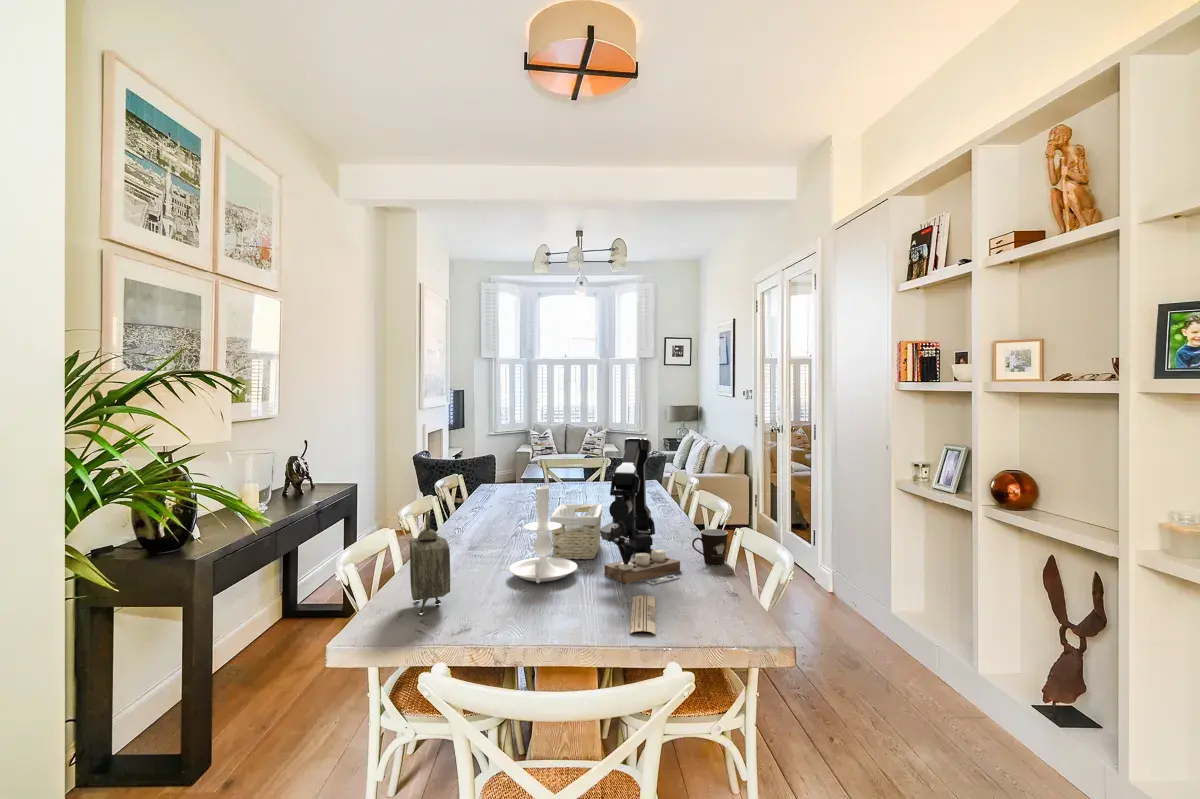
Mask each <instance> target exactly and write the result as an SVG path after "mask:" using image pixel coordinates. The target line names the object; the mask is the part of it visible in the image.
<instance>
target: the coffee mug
mask: <svg viewBox="0 0 1200 799" xmlns="http://www.w3.org/2000/svg"><path fill="white" fill-rule="evenodd" d="M700 536H701V537H695V538H694V539H693V540H692V541H691V542H692V544H691V545H692V546H691V547H692V548H693V549H694V550H695V552H696V553H697V552H698V553H699V554H700V555H701V556H702V555H703V562H704V564H705V563H706V564H705V565H707V564H709V565H708V566H711V565H715V567H718V566H717V565H720V566H723V565H722V564H724V565H725V562H726V554H727V552H726V551H727V545H728V544H727V543H728V536H729V532H728V531H727V530H725V529H724V530H723V529H719V528H718V529H717V528H710V529H709V528H707V529H703V530H701V531H700ZM698 540H700V541H701V545H702V551H703V552H702V551H700V550H698V549H697V547H696V546H695V542H696V541H698Z"/></svg>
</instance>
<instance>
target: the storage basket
mask: <svg viewBox="0 0 1200 799" xmlns="http://www.w3.org/2000/svg"><path fill="white" fill-rule="evenodd" d="M576 513H585V514H583V515H580V516H576ZM602 515H603V504H602V503H562V504H560V505H558V506H557V507H556V508H555V510H554V511H553V512H552V514H551V517H550V522H555V523H559V524H561V525H562V526H561V527H560V528H558V529H555V530H551V536H552V538H551V541H552V544H553V545H552V553H553V555H552V557H555V558H563V559H568V560H573V559H574V560H593V559H595V557H596V555H597V553H598V552H599V549H600V545H601V534H600V531H599V530H600V528H602V527H601V524H602V522H601V521H602Z"/></svg>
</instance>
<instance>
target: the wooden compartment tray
mask: <svg viewBox="0 0 1200 799" xmlns="http://www.w3.org/2000/svg"><path fill="white" fill-rule="evenodd" d="M649 555H650V565H646V566H642V567H641V566H638V565H636V564H635V557H634V558H631V559H630V561H629V562H630V563H633V569H629V570H625V571H624V570H621V569H619V563H621V562H623V560H620V561H616V562H613V563H612V562H611V563H608V564H607V563H606V564H604V576H607V577H610V578H612V579H614V580H615V581H619V582H620V583H624V584H625V585H629V584H632V583H637V582H641V581H644V580H645V581H646V580H650V579H654V578H658V577H662V576H666V575H670V574H672V573H675V572H680V571H681V561H680V560H677V559H674V558H672V557H668V556H666V561H664V562H659V563H657V562H654V561H652V553H651V554H649Z"/></svg>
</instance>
